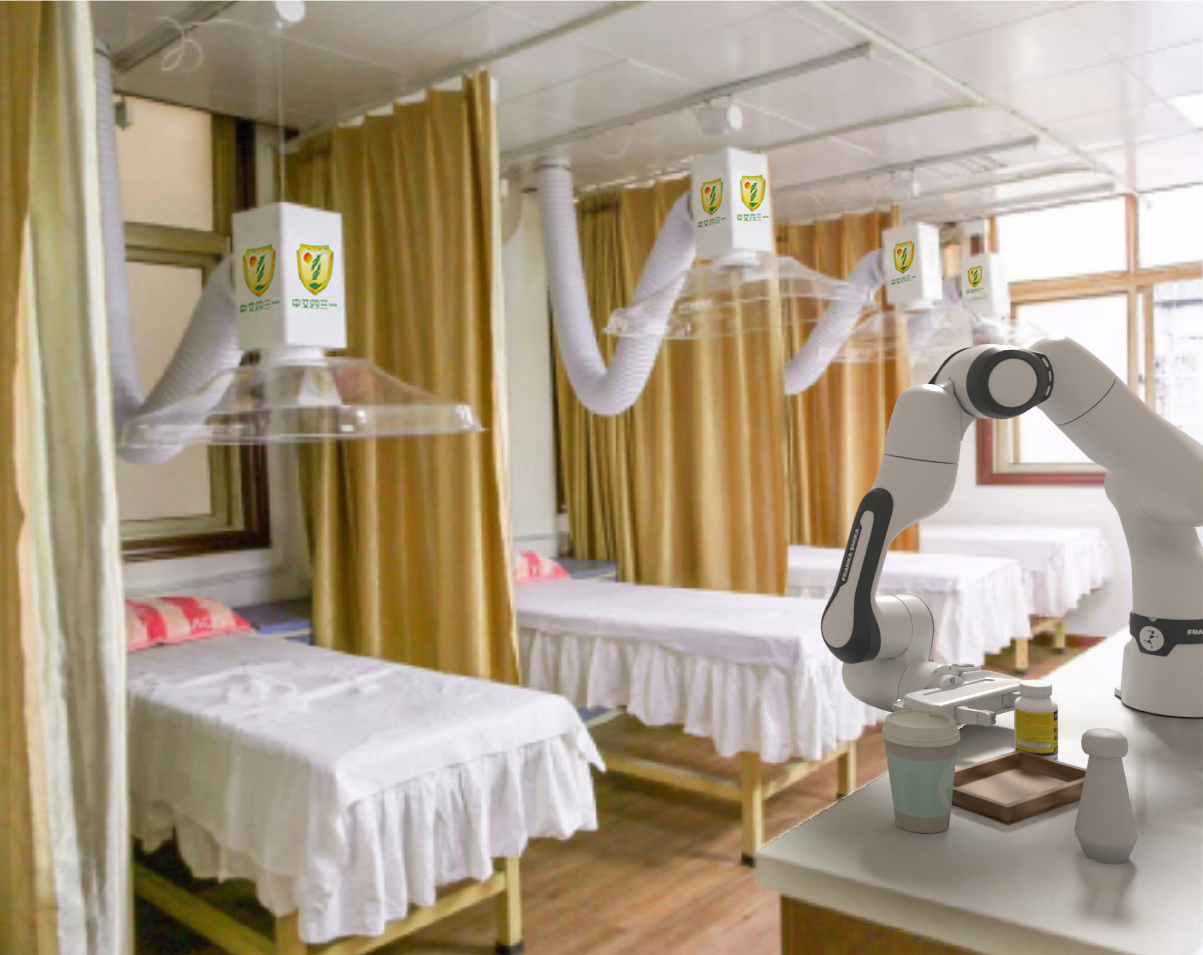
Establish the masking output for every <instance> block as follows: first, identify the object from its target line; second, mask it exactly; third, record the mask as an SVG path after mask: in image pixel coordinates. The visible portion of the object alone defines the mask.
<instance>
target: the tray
mask: <svg viewBox="0 0 1203 955" xmlns="http://www.w3.org/2000/svg"><path fill="white" fill-rule="evenodd" d="M1086 769H1087V768H1084V767H1081V766H1077V765H1073V764H1070V763H1066V762H1062V761H1060V760H1056V759H1050V758H1046V757H1042V756H1039V755H1035V754H1032V753H1028V752H1025V751H1021V750H1016V751H1015V750H1014V751H1010V752H1007V753H1003V754H1000V755H996V756H993V757H990V758H987V759H983V760H980V761H976V762H973V763H971V764H967V765H964V766H963V765H962V766H961V767H957V768H955V774H954V784H953V794H952V804H951V806H952V807H956V808H958V809H962V810H965V811H967V812H969V813H973V814H976V815H978V816H981V817H984V818H987V819H990V820H992V821H995V822H998V823H1001V824H1003V825H1006V826H1010V825H1012V824H1015V823H1018V822H1021V821H1024V820H1026V819H1029V818H1030V819H1031V818H1032V817H1036V816H1037V815H1040V814H1043V813H1046V812H1050V811H1053V810H1054V809H1058V808H1060V807H1063V806H1066V805H1068V804H1072V803H1074V802H1078V801H1080V798H1081V794H1082V789H1083V784H1084V779H1085V774H1086Z"/></svg>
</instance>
